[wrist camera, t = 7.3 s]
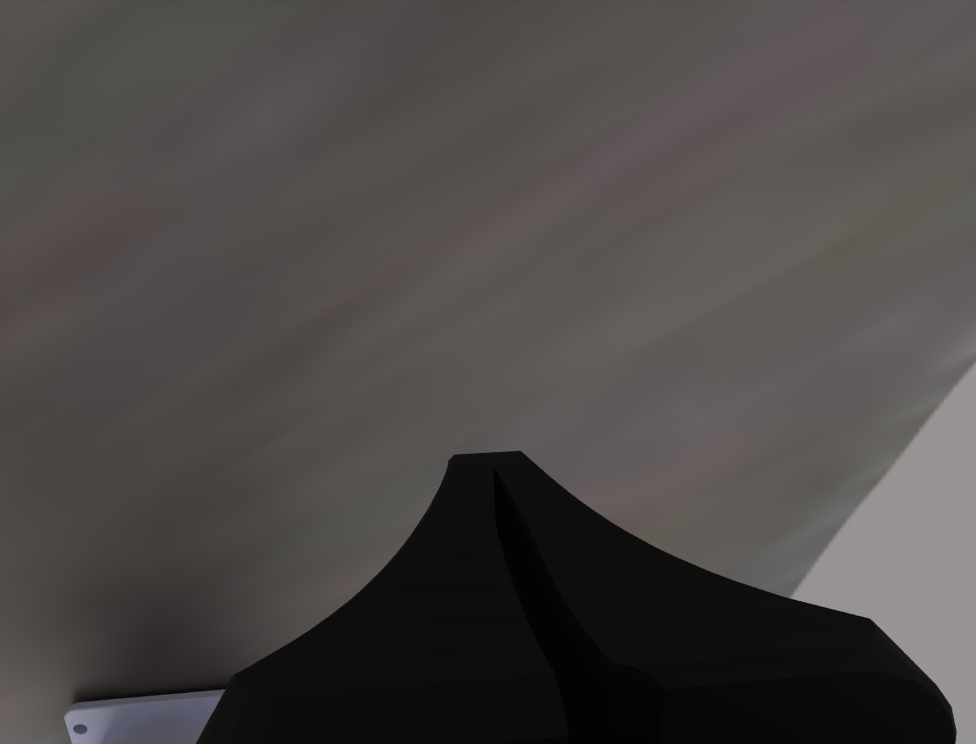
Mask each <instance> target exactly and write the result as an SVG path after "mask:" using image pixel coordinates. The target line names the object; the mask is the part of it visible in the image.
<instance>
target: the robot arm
mask: <svg viewBox="0 0 976 744" xmlns="http://www.w3.org/2000/svg"><path fill="white" fill-rule="evenodd" d="M64 720H65V723H66V726H67V729H68V732H69V735H70V738H71V742H72V744H955V742H956V727H955V722H954V717H953V713H952V708H951V706H950V704H949V703H948V701H947V700H946V698H945V697H944V695H943V694H942V692H941V691H940V689H939V688H938V687H937V685H936V684H935V683H934V682H933V681H932V680H931V679H930V678H929V677H928V676H927V675H926V674H925V673H924V672H923V671H922V670H921V669H920V668H919V667H918V666H917V665H916V664H915V663H914V662H913V661H912V660H911V659H910V658H909V657H908V656H907V655H906V654H905V653H904V652H903V651H902V650H901V649H900V648H899V647H898V646H897V645H896V644H895V643H894V642H893V641H892V640H891V639H890V638H889V637H888V636H887V635H886V634H885V633H884V632H883V631H882V630H881V629H880V628H879V627H878V626H877V625H876V624H875V623H874V622H873V621H872V620H871V619H869V618H865V617H861V616H857V615H853V614H849V613H845V612H841V611H837V610H833V609H829V608H825V607H821V606H817V605H813V604H809V603H805V602H801V601H797V600H794V599H790V598H786V597H783V596H779V595H776V594H773V593H770V592H767V591H764V590H761V589H758V588H755V587H752V586H749V585H746V584H743V583H739V582H736V581H734V580H731V579H728V578H726V577H723V576H720V575H718V574H715V573H712V572H710V571H707V570H705V569H703V568H700V567H698V566H696V565H693V564H691V563H689V562H686V561H684V560H682V559H679V558H677V557H675V556H673V555H670V554H668V553H666V552H664V551H662V550H660V549H658V548H656V547H654V546H652V545H650V544H649V543H647V542H645V541H643V540H641V539H639V538H638V537H636V536H634V535H632V534H630V533H628V532H627V531H625V530H623V529H621V528H620V527H618V526H617V525H615V524H613V523H612V522H610V521H609V520H607V519H606V518H604V517H603V516H601V515H600V514H598V513H597V512H595V511H594V510H592V509H591V508H589V507H588V506H587V505H585V504H584V503H583V502H581V501H580V500H578V499H577V498H576V497H574V496H573V495H572V494H571V493H569V492H568V491H567V490H566V489H564V488H563V487H562V486H561V485H559V484H558V483H557V482H556V481H555V480H553V479H552V478H551V477H550V476H549V475H547V474H546V473H545V472H544V471H543V470H542V469H541V468H539V467H538V466H537V465H536V464H535V463H534V462H533V461H532V460H530V459H529V458H528V457H527V456H526V455H525V454H524V453H522V452H521V451H510V452H492V453H475V454H458V455H454V456H453V457H452V458H451V459H450V460H449V461H448V467H447V470H446V473H445V476H444V478H443V481H442V483H441V485H440V487H439V489H438V491H437V493H436V495H435V497H434V499H433V501H432V503H431V504H430V506H429V508H428V510H427V511H426V513H425V515H424V516H423V518H422V519H421V521H420V522H419V524H418V525H417V527H416V528H415V530H414V531H413V533H412V534H411V535H410V537H409V538H408V539H407V541H406V542H405V543H404V545H403V546H402V547H401V548H400V550H399V551H398V552H397V553H396V555H395V556H394V557H393V558H392V559H391V560H390V561H389V563H388V564H387V565H386V566H385V567H384V568H383V569H382V570H381V571H380V572H379V573H378V574H377V575H376V576H375V577H374V578H373V579H372V580H371V581H370V582H369V583H368V584H367V585H366V586H365V587H364V588H363V589H362V590H361V591H360V592H359V593H358V594H357V595H355V596H354V597H353V598H352V599H351V600H349V601H348V602H347V603H346V604H344V605H343V606H342V607H341V608H339V609H338V610H337V611H335V612H334V613H333V614H332V615H330V616H329V617H327V618H326V619H325V620H323V621H322V622H320V623H319V624H318V625H316V626H315V627H313V628H312V629H311V630H309V631H308V632H306V633H304V634H303V635H301V636H300V637H298V638H297V639H295V640H294V641H292V642H290V643H289V644H287V645H285V646H284V647H282V648H280V649H278V650H277V651H275V652H273V653H272V654H270V655H268V656H267V657H265V658H263V659H262V660H260V661H258V662H257V663H255V664H253V665H251V666H250V667H248V668H246V669H244V670H242V671H240V672H239V673H237V674H235V675H234V676H233V677H232V678H231V680H230V682H229V684H228V686H227V687H226V689H224V690H212V691H201V692H190V693H179V694H168V695H156V696H145V697H134V698H123V699H111V700H100V701H89V702H79V703H75V704H73V705H71V706H70V708H69V709H68V711H67V712H66V714H65V716H64ZM82 724H83V725H82Z"/></svg>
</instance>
